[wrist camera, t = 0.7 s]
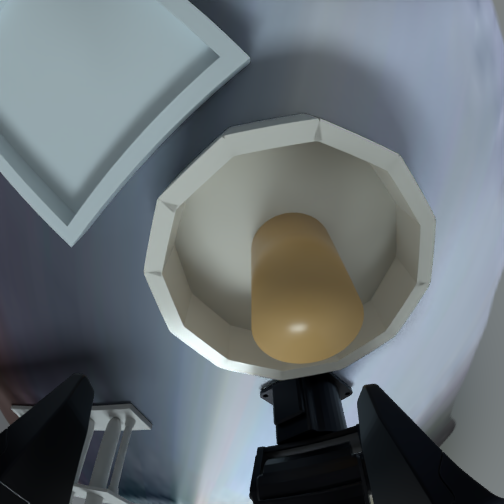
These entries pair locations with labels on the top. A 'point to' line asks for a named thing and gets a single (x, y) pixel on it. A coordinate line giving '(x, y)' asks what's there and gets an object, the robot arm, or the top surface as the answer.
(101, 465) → the test tube rack
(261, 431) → the top surface
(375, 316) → the ceramic dish
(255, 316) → the tan rounded cylinder
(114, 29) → the grey tray
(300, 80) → the top surface
